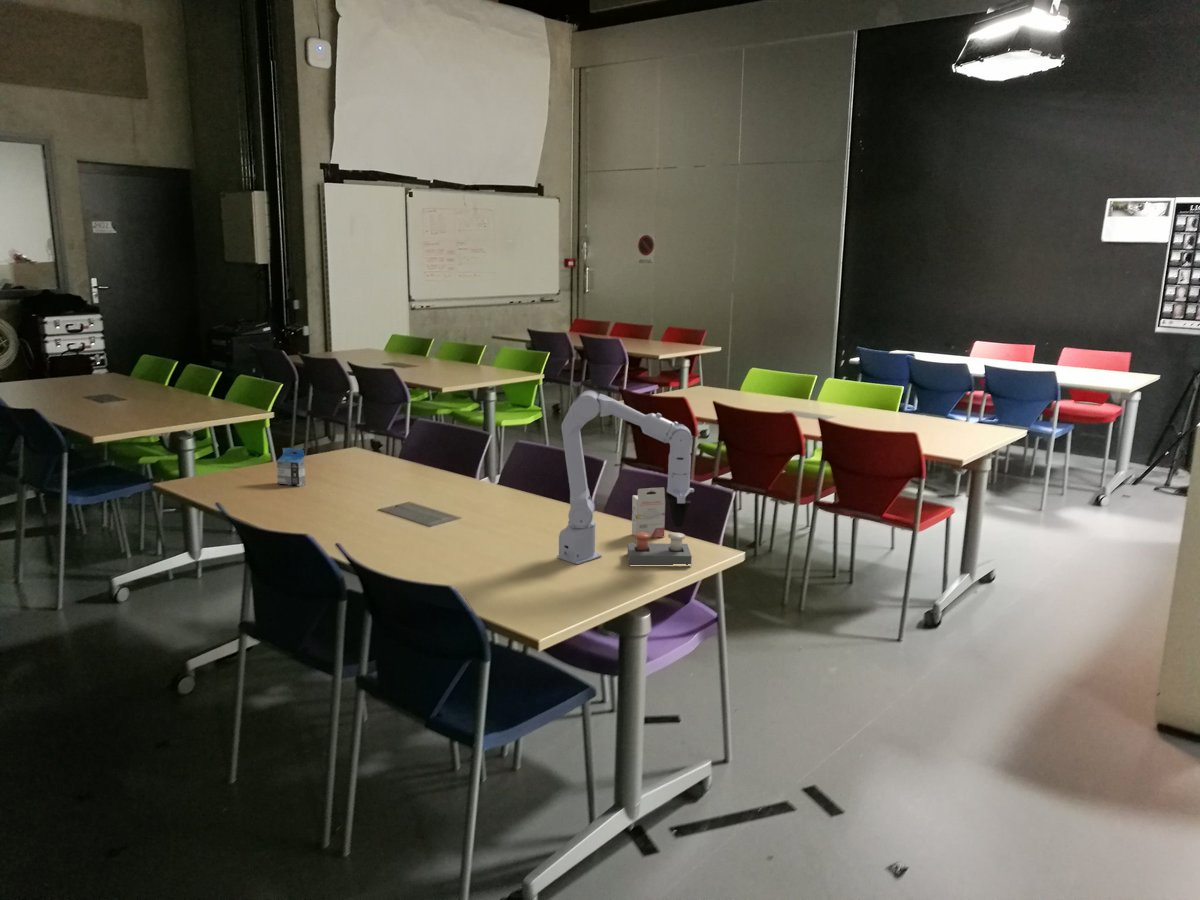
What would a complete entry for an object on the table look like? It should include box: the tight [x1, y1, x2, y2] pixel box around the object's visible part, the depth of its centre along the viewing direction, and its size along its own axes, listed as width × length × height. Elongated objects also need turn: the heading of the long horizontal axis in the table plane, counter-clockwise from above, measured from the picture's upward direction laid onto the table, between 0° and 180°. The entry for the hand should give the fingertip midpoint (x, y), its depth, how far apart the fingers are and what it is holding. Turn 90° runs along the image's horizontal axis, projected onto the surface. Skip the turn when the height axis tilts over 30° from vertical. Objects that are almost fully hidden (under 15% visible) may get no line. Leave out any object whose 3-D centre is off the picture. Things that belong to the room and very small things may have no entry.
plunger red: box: [633, 532, 652, 550], centre depth 231 cm, size 4×4×4 cm
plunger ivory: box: [667, 532, 686, 551], centre depth 231 cm, size 4×4×4 cm
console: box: [627, 542, 693, 566], centre depth 232 cm, size 16×10×3 cm, turn 91°
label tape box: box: [276, 447, 306, 487], centre depth 300 cm, size 9×4×12 cm, turn 73°
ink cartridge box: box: [631, 487, 666, 538], centre depth 251 cm, size 9×5×15 cm, turn 106°
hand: (677, 522), depth 230 cm, fingers open, 5 cm apart
